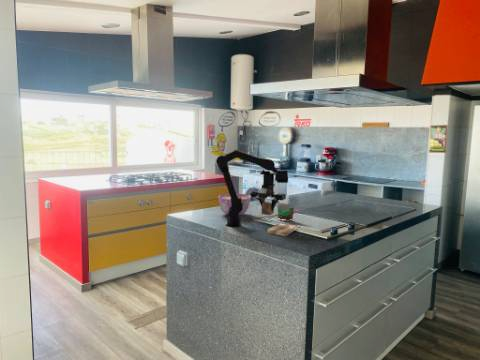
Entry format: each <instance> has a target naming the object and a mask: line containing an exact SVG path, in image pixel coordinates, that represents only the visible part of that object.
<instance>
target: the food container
mask: <svg viewBox="0 0 480 360" xmlns="http://www.w3.org/2000/svg"><path fill="white" fill-rule="evenodd" d="M275 207H276V208H277V210H276V213H277V219H278V218H280V219H286V220H290V219H292V220H293V218H294V211H295V209H296V208H295V207H296V206H295V204H288V203H286V202H285V203H282V202H280V200H279V201H278V202H277V204H276V206H275Z"/></svg>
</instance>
